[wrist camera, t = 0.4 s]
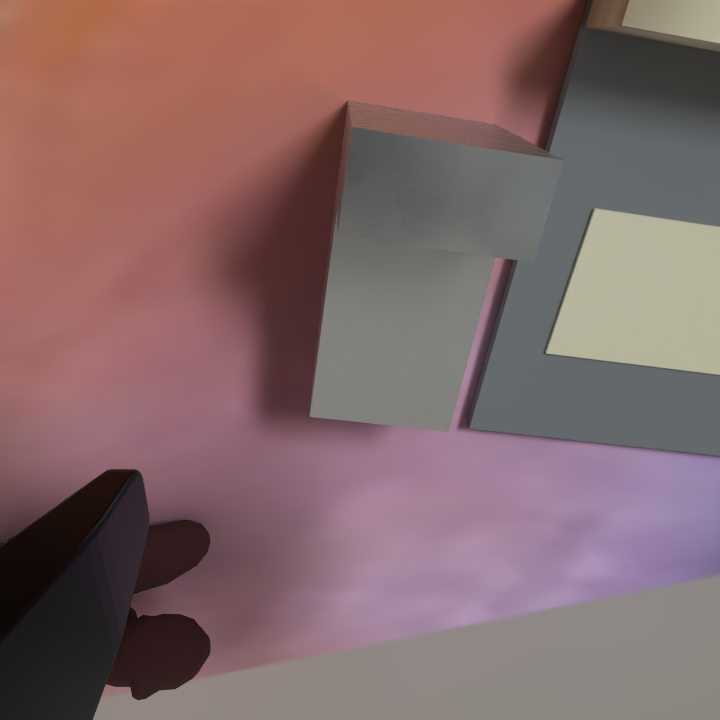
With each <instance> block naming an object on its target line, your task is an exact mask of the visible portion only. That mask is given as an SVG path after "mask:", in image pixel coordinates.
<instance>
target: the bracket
mask: <svg viewBox="0 0 720 720" xmlns="http://www.w3.org/2000/svg"><path fill="white" fill-rule="evenodd" d="M563 164H564V160H563V159H561V158H559V157H557V156H555V155H553V154H551V153H549V152H547V151H546V150H544V149H542V148H540V147H538V146H536V145H534V144H532V143H530V142H528V141H527V140H525V139H523V138H521V137H519V136H517V135H515V134H513V133H511V132H509V131H507V130H506V129H504V128H502V127H500V126H498V125H496V124H491V123H485V122H479V121H473V120H467V119H460V118H454V117H448V116H442V115H436V114H429V113H423V112H417V111H411V110H405V109H398V108H392V107H386V106H380V105H374V104H367V103H361V102H355V101H349V100H348V103H347V111H346V118H345V126H344V134H343V142H342V149H341V157H340V165H339V173H338V180H337V188H336V196H335V203H334V211H333V219H332V227H331V234H330V242H329V250H328V258H327V265H326V273H325V281H324V289H323V296H322V304H321V312H320V320H319V327H318V335H317V343H316V351H315V358H314V367H313V380H312V392H311V405H310V417H316V418H325V419H334V420H344V421H353V422H363V423H372V424H381V425H391V426H400V427H410V428H419V429H428V430H438V431H447V432H448V431H449V427H450V423H451V420H452V416H453V412H454V408H455V405H456V401H457V397H458V394H459V390H460V386H461V383H462V379H463V375H464V371H465V368H466V364H467V360H468V357H469V353H470V349H471V345H472V342H473V338H474V334H475V331H476V327H477V323H478V319H479V316H480V312H481V308H482V305H483V301H484V297H485V293H486V290H487V286H488V282H489V279H490V275H491V271H492V267H493V264H494V260H495V257H499V258H506V259H513V260H520V261H528V262H534V260H535V256H536V253H537V250H538V246H539V243H540V240H541V236H542V233H543V230H544V227H545V223H546V220H547V217H548V213H549V210H550V207H551V203H552V200H553V197H554V193H555V190H556V187H557V184H558V180H559V177H560V174H561V170H562V167H563Z"/></svg>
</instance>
